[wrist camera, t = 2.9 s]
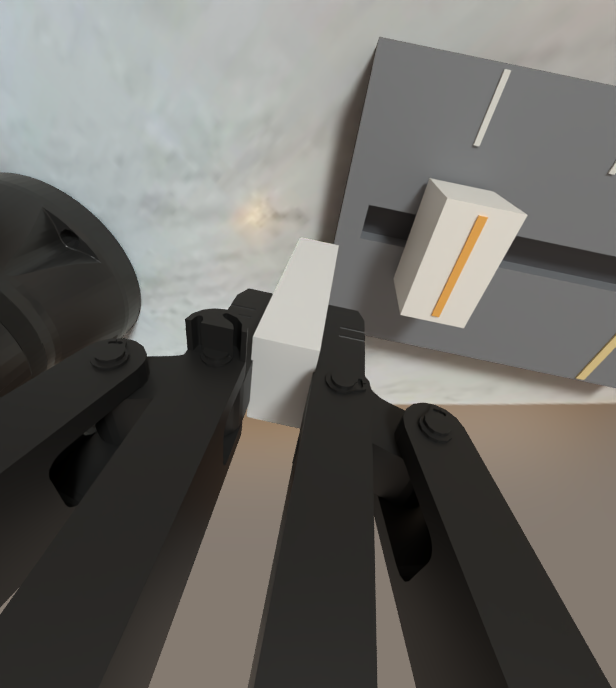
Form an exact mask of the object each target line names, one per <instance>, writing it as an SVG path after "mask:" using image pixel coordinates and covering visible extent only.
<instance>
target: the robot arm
mask: <svg viewBox="0 0 616 688" xmlns="http://www.w3.org/2000/svg"><path fill="white" fill-rule="evenodd" d="M338 247H339V245H335V244H330V243H326V242H321V241H316V240H312V239H307V238H302V237H300V238H299V240H298V243H297V245H296V247H295V249H294V251H293V253H292V255H291V257H290V259H289V262H288V264H287V266H286V268H285V270H284V272H283V274H282V276H281V278H280V281H279V283H278V285H277V287H276V289H275V291H274V293H273V294H272V293H267V292H263V291H258V290H253V289H247V290H245V291H244V292H242V293H240V294H238V295H237V296H236V298H235V299H234V301H233V302H232V304H231V306H230V307H229V308H228V310H225V309H205V310H201V311H198V312H195V313H192V314H191V315H190V316H189V317H187V318H186V319H185V323H186V336H187V348H188V350H187V351H186V353H185V354H184V355H179V356H150V357H147V354H146V351H145V349H144V347H143V346H142V345H141V344H139V343H138V342H136V341H133V340H129V339H125V338H121V337H122V336H123V335H125V334H126V333H127V332H128V331H129V330H130V328H131V327H132V326H133V325H134V323H135V321H136V319H137V317H138V314H139V310H140V290H139V285H138V281H137V277H136V275H135V272H134V269H133V267H132V265H131V263H130V261H129V259H128V257H127V255H126V254H125V252H124V250H123V249H122V247H121V246H120V244H119V243H118V241H117V240H116V239H115V237H114V236H113V235H112V234H111V232H110V231H109V230H108V229H107V228H106V227H105V226H104V225H103V223H102V222H101V221H100V220H99V219H98V218H97V217H95V216H94V215H93V214H92V213H91V212H90V211H89V210H88V209H86V208H85V207H84V206H83V205H81V204H80V203H79V202H77V201H76V200H75V199H73V198H72V197H70V196H69V195H67V194H66V193H64V192H62V191H61V190H59V189H57V188H55V187H53V186H51V185H49V184H47V183H45V182H42V181H40V180H37V179H34V178H31V177H28V176H24V175H20V174H14V173H0V607H1V606H2V605H3V604H4V603H5V602H6V601H7V599H9V597H10V596H11V595H12V594H13V593H14V592H15V591H16V590H17V589H18V588H19V589H18V590H17V592H16V593H15V595H14V596H13V598H12V599H11V600H10V602H9V603H8V604H7V606H6V607H5V609H4V610H3V612H2V613H1V614H0V688H148V687H149V684H150V681H151V678H152V676H153V673H154V670H155V667H156V665H157V662H158V659H159V656H160V654H161V651H162V648H163V646H164V643H165V640H166V638H167V635H168V632H169V629H170V626H171V624H172V621H173V618H174V616H175V613H176V610H177V608H178V605H179V602H180V599H181V597H182V594H183V591H184V588H185V586H186V583H187V580H188V577H189V575H190V572H191V569H192V566H193V564H194V561H195V558H196V556H197V553H198V550H199V548H200V545H201V542H202V539H203V537H204V534H205V531H206V529H207V526H208V523H209V520H210V518H211V515H212V512H213V509H214V507H215V504H216V501H217V499H218V496H219V493H220V490H221V487H222V485H223V482H224V479H225V477H226V474H227V471H228V469H229V466H230V463H231V460H232V458H233V455H234V452H235V449H236V447H237V444H238V441H239V439H240V436H241V431H242V420H243V418H244V415H245V412H246V409H247V417H250V418H255V419H259V420H264V421H268V422H273V423H277V424H282V425H286V426H291V427H295V428H300V433H299V437H298V441H297V445H296V450H295V454H294V458H293V462H292V463H293V465H292V471H291V475H290V480H289V485H288V490H287V495H286V500H285V505H284V510H283V515H282V520H281V525H280V530H279V535H278V540H277V545H276V550H275V555H274V560H273V565H272V570H271V575H270V580H269V585H268V590H267V595H266V600H265V605H264V609H263V615H262V619H261V625H260V629H259V634H258V639H257V645H256V649H255V654H254V660H253V664H252V670H251V674H250V680H249V684H248V688H377V650H376V649H377V646H376V600H375V549H374V517H375V521H376V525H377V529H378V534H379V537H380V542H381V546H382V550H383V554H384V558H385V562H386V566H387V570H388V574H389V578H390V583H391V586H392V591H393V594H394V599H395V602H396V606H397V611H398V615H399V619H400V623H401V627H402V631H403V636H404V640H405V644H406V648H407V652H408V656H409V660H410V664H411V668H412V672H413V676H414V681H415V685H416V688H611V686H610V684H609V682H608V681H607V679H606V677H605V675H604V673H603V672H602V670H601V668H600V667H599V665H598V663H597V661H596V659H595V658H594V656H593V654H592V652H591V651H590V649H589V647H588V645H587V644H586V642H585V640H584V638H583V636H582V635H581V633H580V631H579V629H578V628H577V626H576V624H575V622H574V621H573V619H572V617H571V615H570V614H569V612H568V610H567V608H566V607H565V605H564V603H563V601H562V600H561V598H560V596H559V594H558V592H557V591H556V589H555V587H554V586H553V584H552V582H551V580H550V578H549V577H548V575H547V573H546V571H545V569H544V568H543V566H542V564H541V562H540V561H539V559H538V557H537V555H536V554H535V552H534V550H533V548H532V547H531V545H530V543H529V541H528V540H527V538H526V536H525V534H524V532H523V531H522V529H521V527H520V525H519V524H518V522H517V520H516V518H515V517H514V515H513V513H512V511H511V510H510V508H509V506H508V504H507V502H506V501H505V499H504V497H503V496H502V494H501V492H500V490H499V488H498V487H497V485H496V483H495V482H494V480H493V478H492V476H491V474H490V472H489V471H488V469H487V467H486V466H485V464H484V462H483V460H482V458H481V457H480V455H479V453H478V451H477V450H476V448H475V446H474V444H473V443H472V441H471V439H470V437H469V435H468V434H467V432H466V430H465V428H464V427H463V426H462V425H461V423H460V422H459V421H458V419H457V418H456V417H454V416H453V415H452V414H450V413H449V412H448V411H447V410H445V409H443V408H440V407H438V406H436V405H433V404H428V403H417V404H413V405H411V406H410V407H408V408H407V409H406V410H403V409H401V408H398V407H396V406H394V405H392V404H390V403H388V402H386V401H385V400H383V399H381V398H380V397H379V396H378V395H376V394H375V393H374V392H373V391H372V390H371V387H370V383H369V381H368V379H367V378H366V377H365V342H364V341H365V333H364V332H365V321H364V319H363V318H362V316H361V315H360V313H359V311H356V310H351V309H347V308H342V307H337V306H333V305H328V303H329V298H330V292H331V287H332V281H333V275H334V270H335V264H336V258H337V253H338ZM247 407H248V408H247Z"/></svg>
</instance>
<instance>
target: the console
mask: <svg viewBox="0 0 616 688" xmlns="http://www.w3.org/2000/svg"><path fill="white" fill-rule="evenodd" d="M429 178H432V179H436V180H441V181H446V182H451V183H455V184H460V185H465V186H470V187H475V188H479V189H484V190H489V191H493V192H495V193H496V194H498V195H499V196H501V197H502V198H504V199H505V200H507V201H508V202H510V203H511V204H512V205H514V206H515V207H517V208H518V209H520V210H521V211H523V212H524V213H526V214H527V217H526V219H525V221H524V222H523V224H522V226H521V228H520V230H519V231H518V233H517V235H516V237H515V238H514V240H513V242H512V244H511V246H510V247H509V249H508V251H507V253H506V254H505V256H504V258H503V260H502V261H501V263H500V265H499V267H498V269H497V270H496V272H495V274H494V276H493V277H492V279H491V281H490V283H489V285H488V286H487V288H486V290H485V292H484V293H483V295H482V297H481V299H480V300H479V302H478V304H477V306H476V308H475V309H474V311H473V313H472V315H471V316H470V318H469V320H468V322H467V324H466V325H465V327H464V328H460V327H455V326H451V325H446V324H441V323H436V322H432V321H427V320H422V319H417V318H413V317H408V316H403V315H400V311H399V305H398V300H397V295H396V289H395V284H394V276H395V273H396V270H397V267H398V265H399V262H400V259H401V256H402V253H403V251H404V248H405V245H406V242H407V240H408V237H409V234H410V231H411V228H412V226H413V223H414V220H415V217H416V214H417V212H418V209H419V206H420V203H421V200H422V198H423V195H424V192H425V189H426V187H427V184H428V181H429ZM334 244H335V245H339V247H338V253H337V258H336V264H335V270H334V275H333V281H332V287H331V292H330V298H329V303H328V305H333V306H337V307H342V308H347V309H351V310H356V311H359V313H360V315H361V316H362V318H363V319H364V321H365V332H364V333H365V335H366V336H371V337H375V338H380V339H385V340H390V341H394V342H399V343H404V344H409V345H413V346H418V347H423V348H428V349H432V350H437V351H442V352H447V353H451V354H456V355H461V356H466V357H470V358H475V359H480V360H485V361H489V362H494V363H499V364H504V365H508V366H513V367H518V368H523V369H527V370H532V371H537V372H542V373H546V374H551V375H556V376H560V377H565V378H570V379H575V380H579V381H584V382H589V383H594V384H598V385H603V386H608V387H613V388H616V86H613V85H608V84H603V83H598V82H594V81H589V80H584V79H579V78H574V77H570V76H565V75H560V74H555V73H550V72H546V71H541V70H536V69H531V68H527V67H522V66H517V65H512V64H507V63H503V62H498V61H493V60H488V59H483V58H479V57H474V56H469V55H464V54H459V53H455V52H450V51H445V50H440V49H435V48H431V47H426V46H421V45H416V44H411V43H407V42H402V41H397V40H392V39H387V38H383V37H379V40H378V43H377V47H376V51H375V56H374V60H373V65H372V69H371V74H370V79H369V83H368V88H367V92H366V97H365V102H364V106H363V111H362V115H361V120H360V125H359V129H358V134H357V138H356V143H355V147H354V152H353V157H352V161H351V166H350V170H349V175H348V180H347V184H346V189H345V193H344V198H343V203H342V207H341V212H340V216H339V221H338V225H337V230H336V235H335V239H334Z"/></svg>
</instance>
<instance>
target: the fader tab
mask: <svg viewBox="0 0 616 688" xmlns="http://www.w3.org/2000/svg"><path fill="white" fill-rule="evenodd" d="M526 217H527V214H526V213H524V212H523V211H521V210H520V209H518V208H517V207H515V206H514V205H512V204H511V203H510V202H508V201H507V200H505V199H504V198H502V197H501V196H499V195H498V194H496V193H495V192H493V191H489V190H484V189H479V188H475V187H470V186H465V185H460V184H455V183H451V182H446V181H441V180H436V179H432V178H429V181H428V184H427V187H426V189H425V192H424V195H423V198H422V200H421V203H420V206H419V209H418V212H417V214H416V217H415V220H414V223H413V226H412V228H411V231H410V234H409V237H408V240H407V242H406V245H405V248H404V251H403V253H402V256H401V259H400V262H399V265H398V267H397V270H396V273H395V276H394V284H395V289H396V295H397V300H398V305H399V311H400V315H403V316H408V317H413V318H417V319H422V320H427V321H432V322H436V323H441V324H446V325H451V326H455V327H460V328H464V327H465V325H466V324H467V322H468V320H469V318H470V316H471V315H472V313H473V311H474V309H475V308H476V306H477V304H478V302H479V300H480V299H481V297H482V295H483V293H484V292H485V290H486V288H487V286H488V285H489V283H490V281H491V279H492V277H493V276H494V274H495V272H496V270H497V269H498V267H499V265H500V263H501V261H502V260H503V258H504V256H505V254H506V253H507V251H508V249H509V247H510V246H511V244H512V242H513V240H514V238H515V237H516V235H517V233H518V231H519V230H520V228H521V226H522V224H523V222H524V221H525V219H526Z"/></svg>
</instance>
